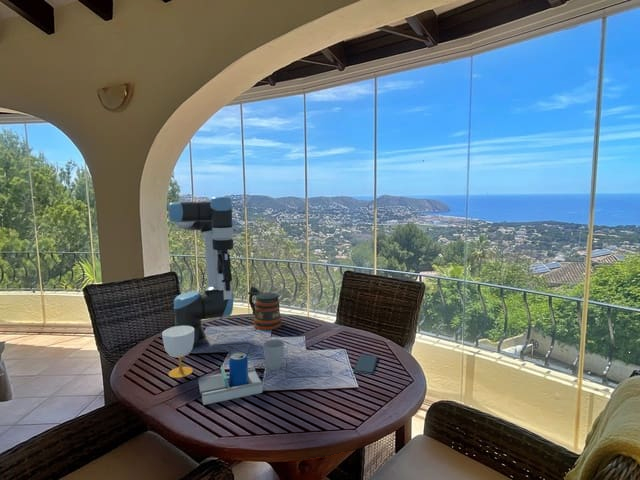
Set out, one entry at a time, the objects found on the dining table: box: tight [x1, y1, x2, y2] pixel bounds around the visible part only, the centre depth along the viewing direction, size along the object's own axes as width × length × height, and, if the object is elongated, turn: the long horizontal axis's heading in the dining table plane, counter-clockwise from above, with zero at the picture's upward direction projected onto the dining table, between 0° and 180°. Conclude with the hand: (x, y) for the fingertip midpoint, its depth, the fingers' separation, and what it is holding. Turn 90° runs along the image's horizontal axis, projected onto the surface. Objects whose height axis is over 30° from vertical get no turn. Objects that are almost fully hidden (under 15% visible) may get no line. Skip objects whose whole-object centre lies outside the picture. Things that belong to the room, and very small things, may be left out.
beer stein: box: [247, 285, 282, 331], centre depth 199 cm, size 19×15×20 cm
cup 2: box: [263, 339, 285, 371], centre depth 152 cm, size 8×8×10 cm
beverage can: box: [228, 352, 249, 388], centre depth 136 cm, size 6×6×12 cm
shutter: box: [197, 366, 228, 395], centre depth 132 cm, size 9×9×4 cm
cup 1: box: [161, 325, 194, 379], centre depth 147 cm, size 12×12×17 cm
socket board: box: [199, 367, 263, 406], centre depth 135 cm, size 12×20×4 cm, turn 112°
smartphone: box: [353, 353, 378, 375], centre depth 154 cm, size 8×2×15 cm
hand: (224, 294), depth 143 cm, fingers open, 13 cm apart
